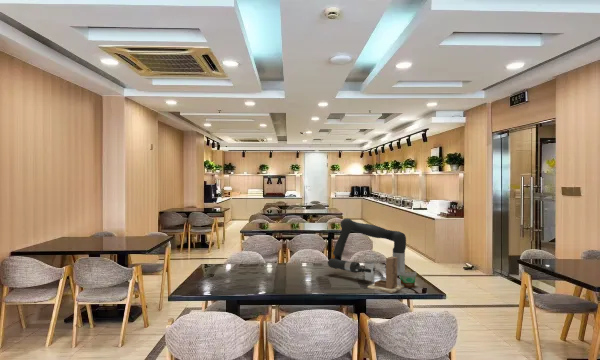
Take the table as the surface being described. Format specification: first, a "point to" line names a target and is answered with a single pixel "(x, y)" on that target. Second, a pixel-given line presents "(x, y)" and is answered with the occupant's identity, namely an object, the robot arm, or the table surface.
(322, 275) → the table surface
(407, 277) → the food container
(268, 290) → the table surface
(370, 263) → the grey rectangular block
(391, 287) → the wooden backboard stand
